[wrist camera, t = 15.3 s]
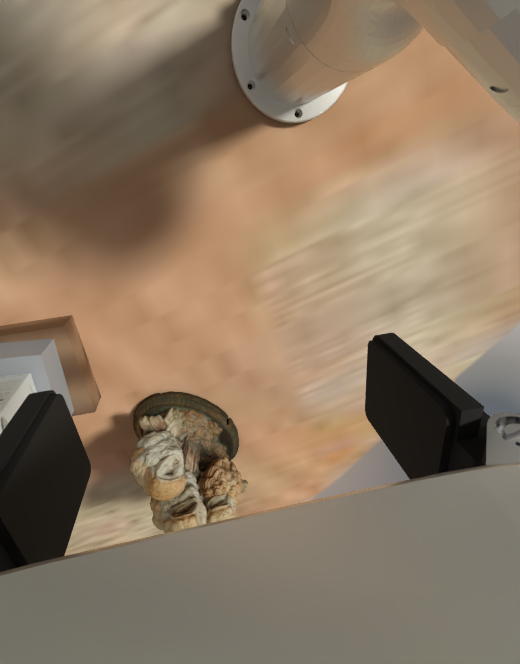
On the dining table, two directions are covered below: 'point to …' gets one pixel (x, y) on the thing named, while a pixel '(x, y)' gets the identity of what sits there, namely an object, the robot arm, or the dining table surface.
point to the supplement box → (13, 395)
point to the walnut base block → (62, 356)
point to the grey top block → (36, 365)
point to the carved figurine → (186, 460)
